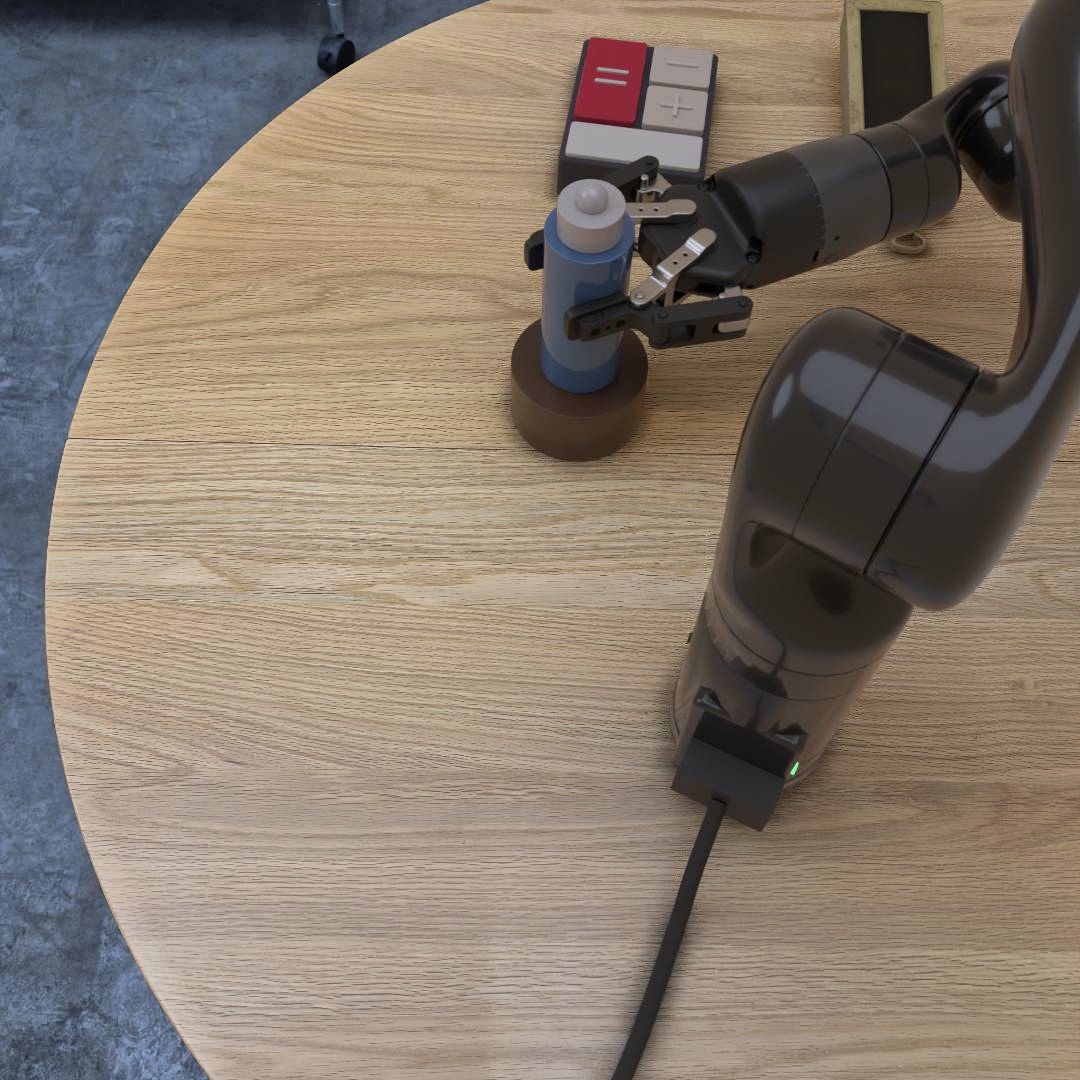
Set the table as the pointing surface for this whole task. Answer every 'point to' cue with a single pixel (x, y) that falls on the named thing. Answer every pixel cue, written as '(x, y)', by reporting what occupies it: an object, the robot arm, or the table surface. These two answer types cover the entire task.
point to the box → (890, 65)
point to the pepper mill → (583, 280)
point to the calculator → (638, 111)
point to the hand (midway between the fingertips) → (547, 290)
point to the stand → (576, 403)
